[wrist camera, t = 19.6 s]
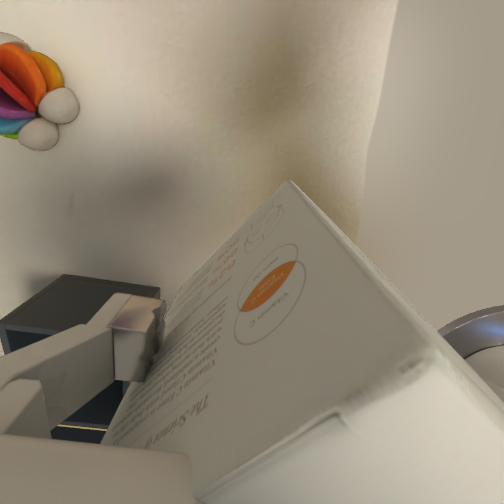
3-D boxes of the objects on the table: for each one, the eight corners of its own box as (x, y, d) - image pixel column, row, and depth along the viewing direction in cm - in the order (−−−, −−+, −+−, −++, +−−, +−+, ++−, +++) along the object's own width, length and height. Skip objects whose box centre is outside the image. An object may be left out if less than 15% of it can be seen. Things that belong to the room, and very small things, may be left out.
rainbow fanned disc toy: (97, 99, 29) (50, 86, 22) (49, 161, 31) (-6, 166, 25) (26, 26, 26) (-51, -12, 20) (-20, 100, 29) (-102, 88, 22)
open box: (63, 274, 37) (-5, 322, 27) (160, 287, 38) (128, 339, 28) (74, 356, 43) (21, 420, 33) (157, 366, 44) (130, 431, 34)
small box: (254, 343, 15) (248, 690, 6) (178, 285, 14) (-1, 623, 4) (366, 254, 13) (685, 594, 3) (288, 172, 11) (457, 359, 2)
